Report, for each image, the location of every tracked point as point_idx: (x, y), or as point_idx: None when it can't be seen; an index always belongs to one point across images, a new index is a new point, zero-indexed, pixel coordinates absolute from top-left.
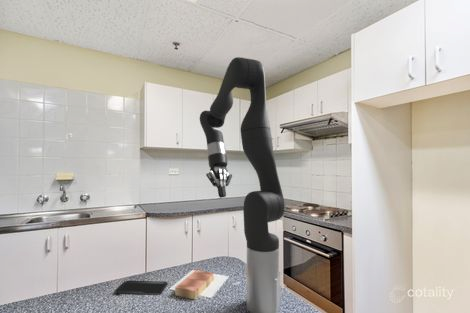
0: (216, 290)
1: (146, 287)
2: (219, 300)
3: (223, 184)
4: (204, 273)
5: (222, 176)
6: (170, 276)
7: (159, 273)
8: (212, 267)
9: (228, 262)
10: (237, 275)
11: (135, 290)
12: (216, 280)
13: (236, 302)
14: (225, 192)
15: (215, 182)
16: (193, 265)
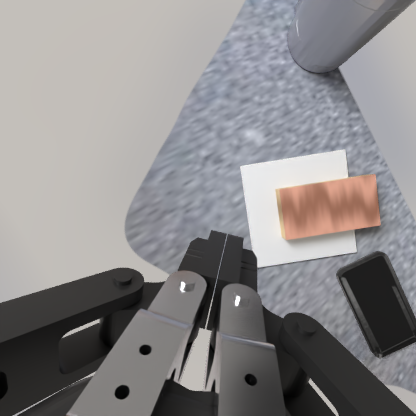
0: (313, 156)
1: (376, 297)
2: (338, 132)
3: (203, 298)
4: (292, 209)
5: (170, 412)
6: (303, 293)
7: None
8: None
9: (160, 214)
10: (219, 153)
11: (395, 307)
12: (273, 182)
13: (328, 96)
14: (192, 250)
15: (342, 364)
16: None
